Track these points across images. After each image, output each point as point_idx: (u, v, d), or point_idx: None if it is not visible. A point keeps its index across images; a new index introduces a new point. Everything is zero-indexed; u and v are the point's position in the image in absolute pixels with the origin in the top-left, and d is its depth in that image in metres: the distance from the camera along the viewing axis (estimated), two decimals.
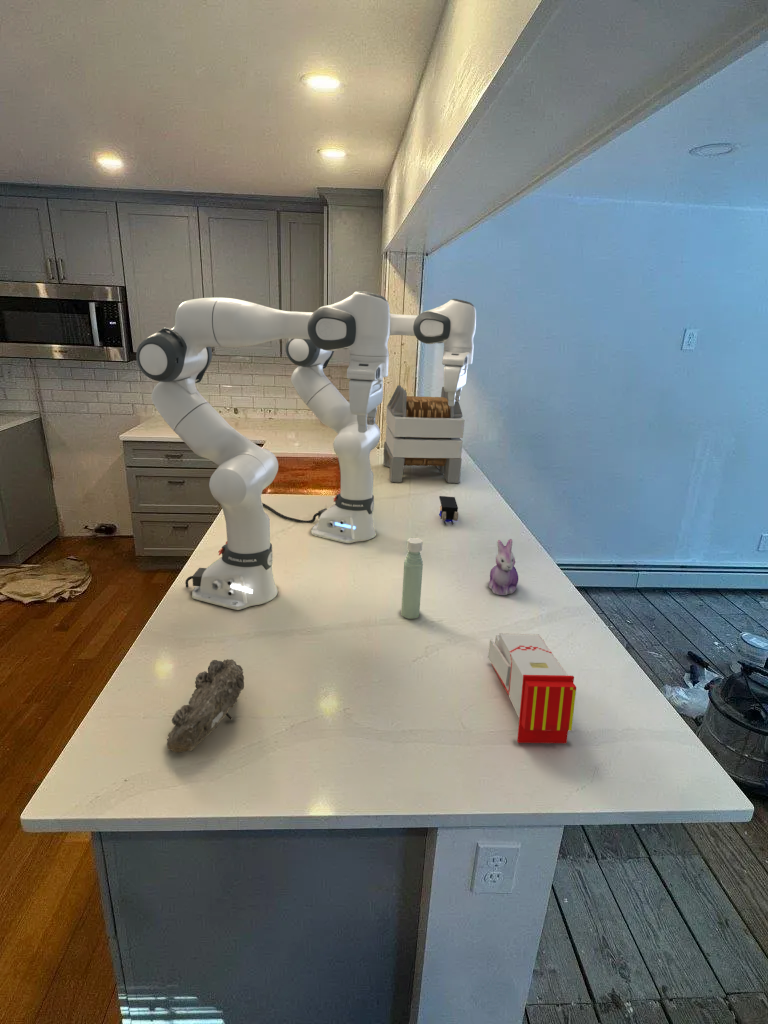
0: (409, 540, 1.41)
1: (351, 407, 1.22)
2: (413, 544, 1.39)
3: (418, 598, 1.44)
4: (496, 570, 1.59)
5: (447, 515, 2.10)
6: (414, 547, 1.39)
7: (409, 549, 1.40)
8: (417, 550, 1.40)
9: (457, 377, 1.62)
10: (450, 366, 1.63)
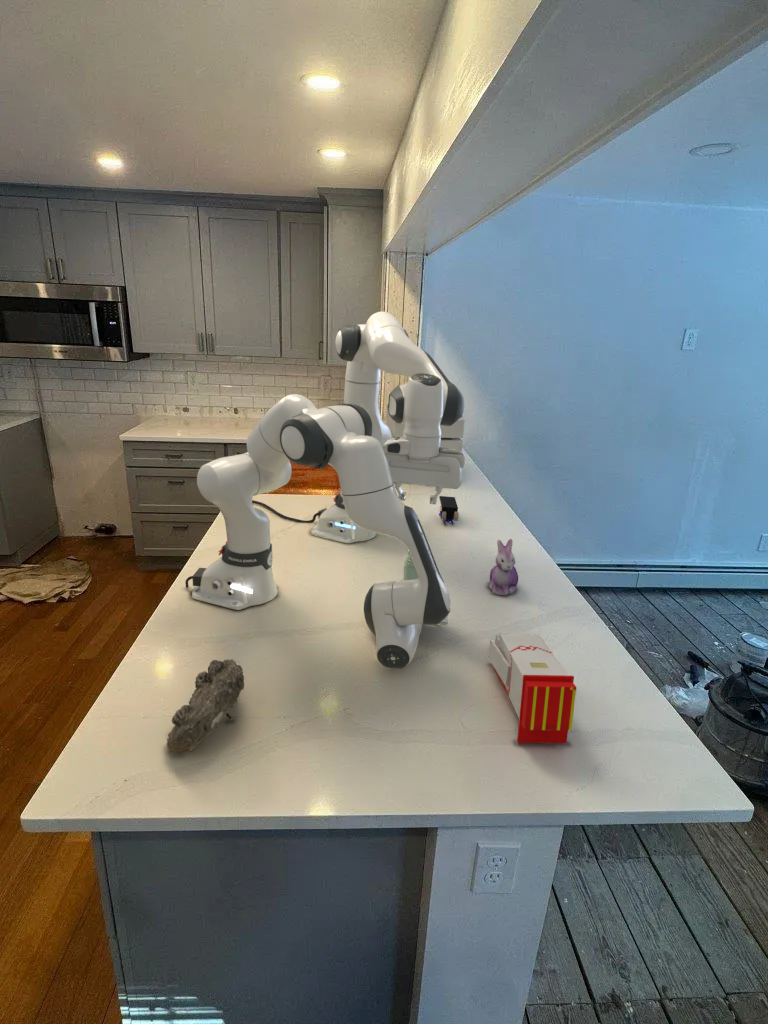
0: None
1: None
2: None
3: None
4: (496, 570, 1.59)
5: (447, 515, 2.10)
6: None
7: None
8: None
9: None
10: None
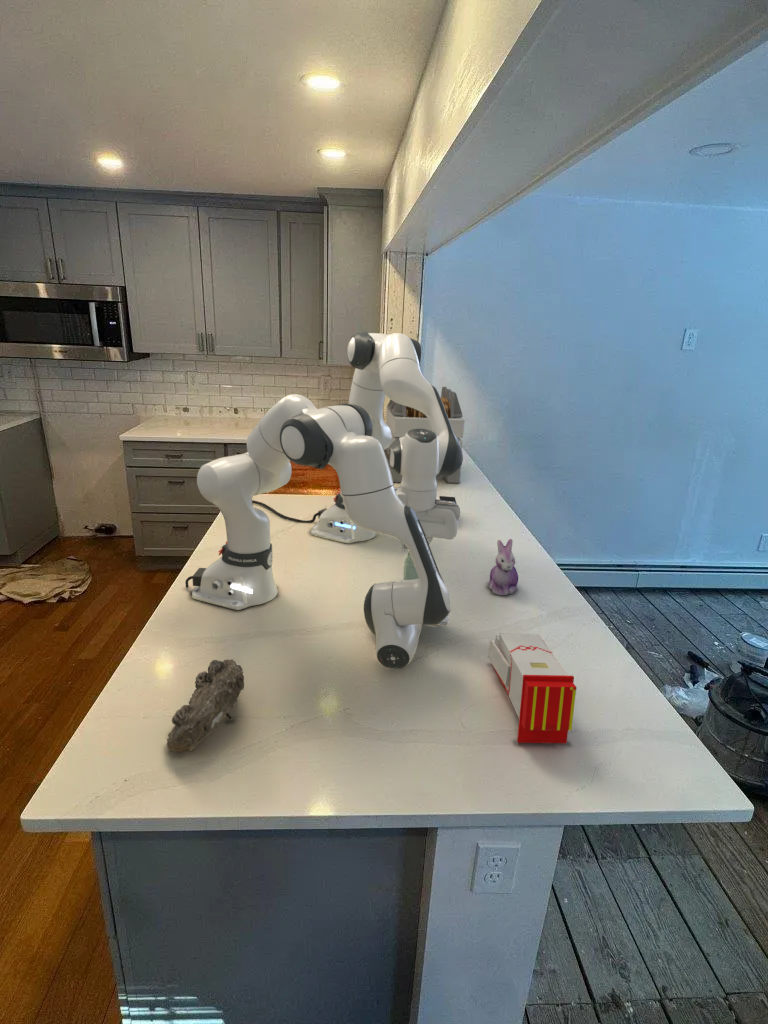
0: None
1: None
2: None
3: None
4: (496, 570, 1.59)
5: None
6: None
7: None
8: None
9: None
10: None
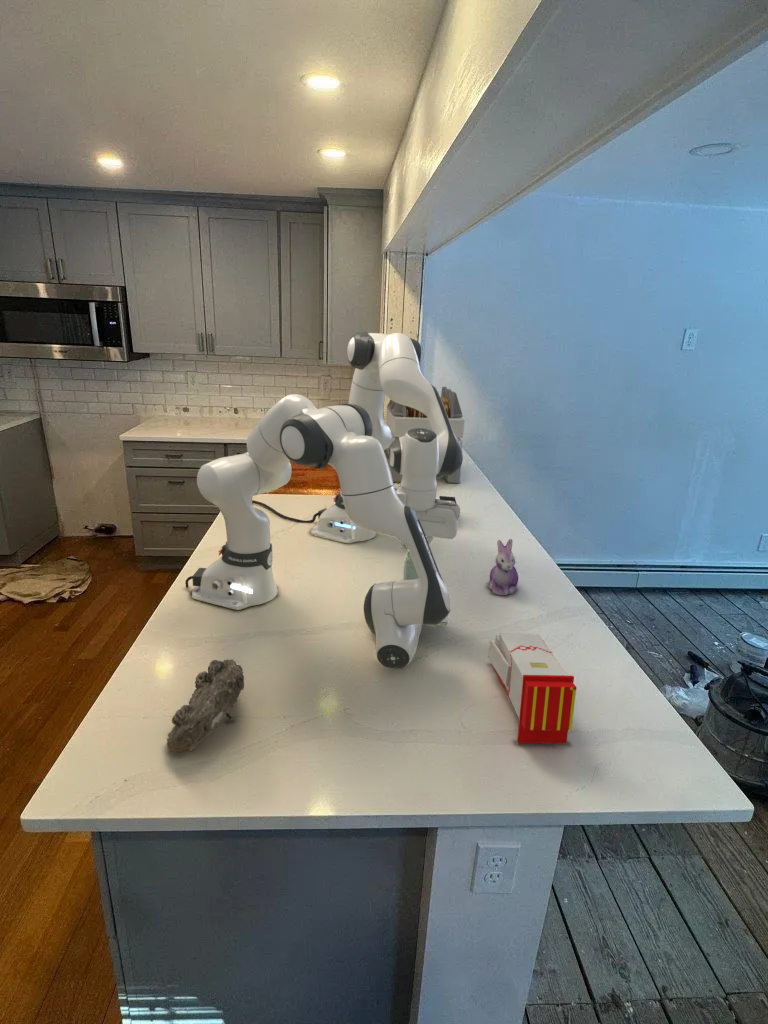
0: None
1: None
2: None
3: None
4: (496, 570, 1.59)
5: None
6: None
7: None
8: None
9: None
10: None
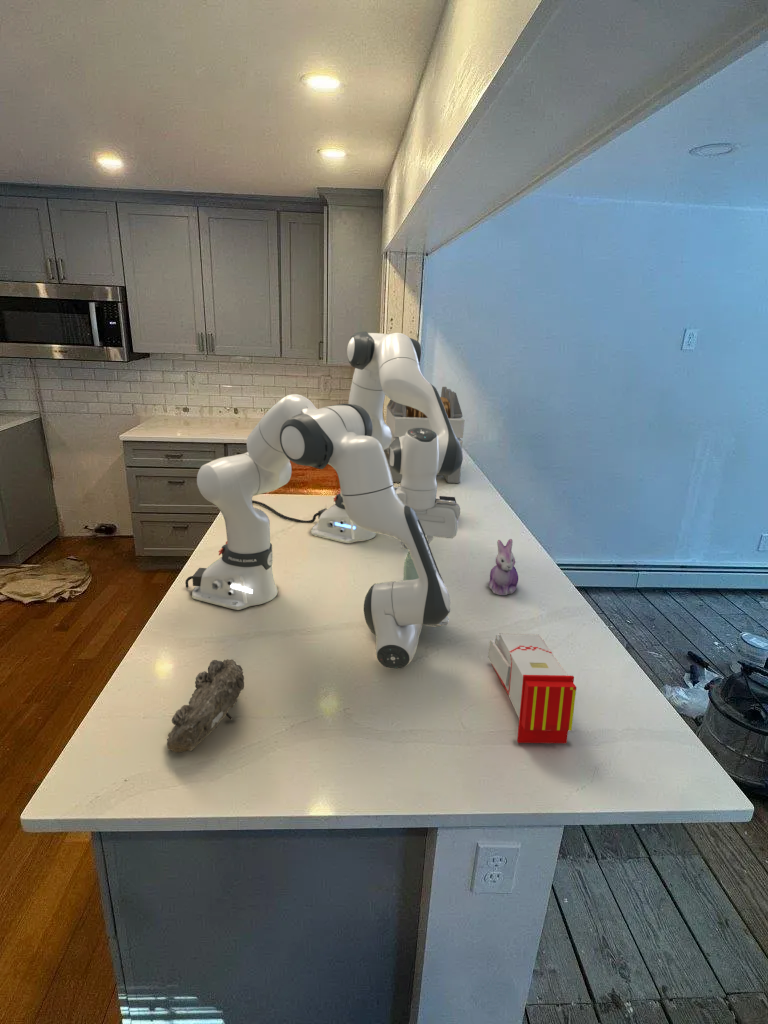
0: None
1: None
2: None
3: None
4: (496, 570, 1.59)
5: None
6: None
7: None
8: None
9: None
10: None
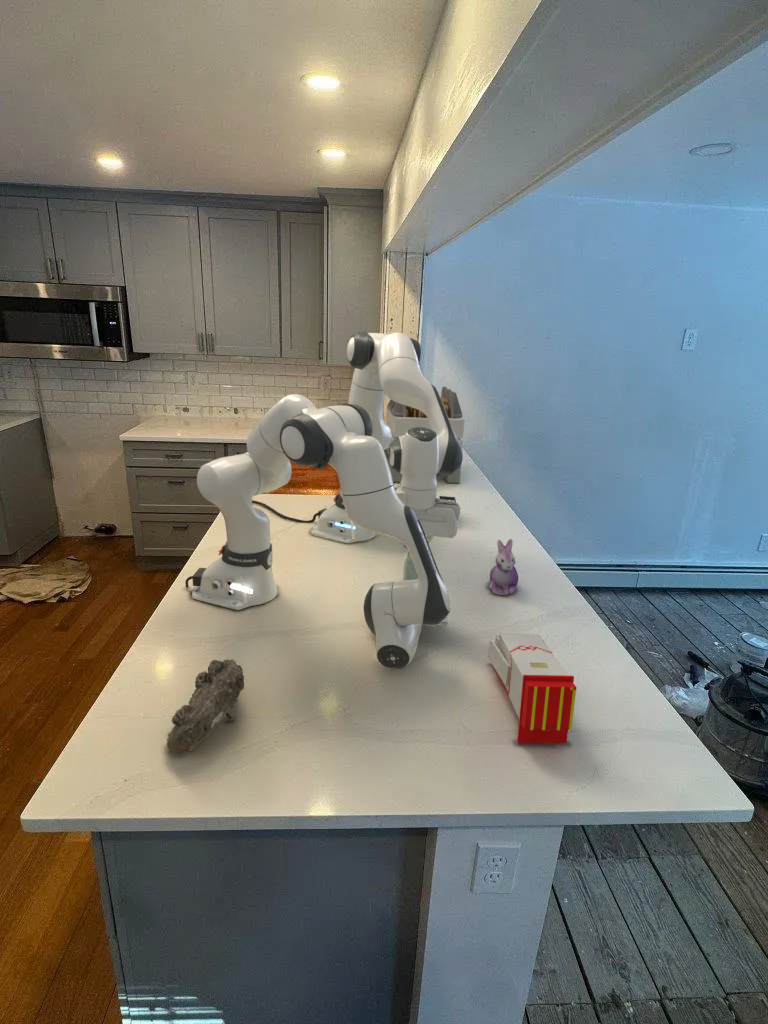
0: None
1: None
2: None
3: None
4: (496, 570, 1.59)
5: None
6: None
7: None
8: None
9: None
10: None
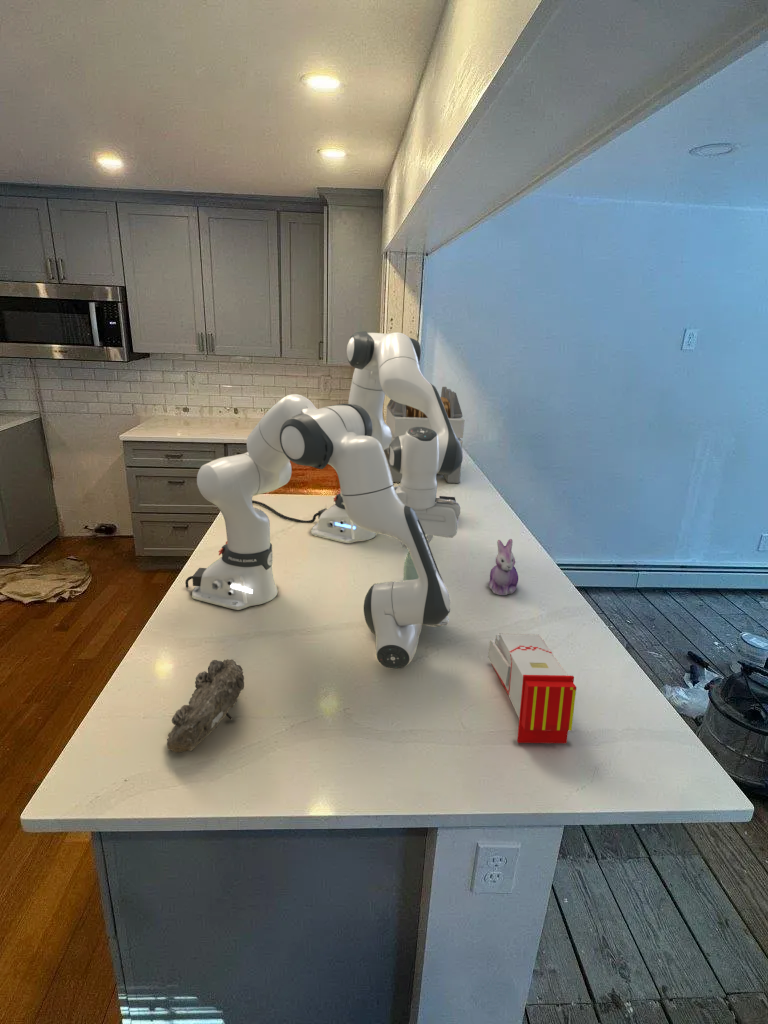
0: None
1: None
2: None
3: None
4: (496, 570, 1.59)
5: None
6: None
7: None
8: None
9: None
10: None
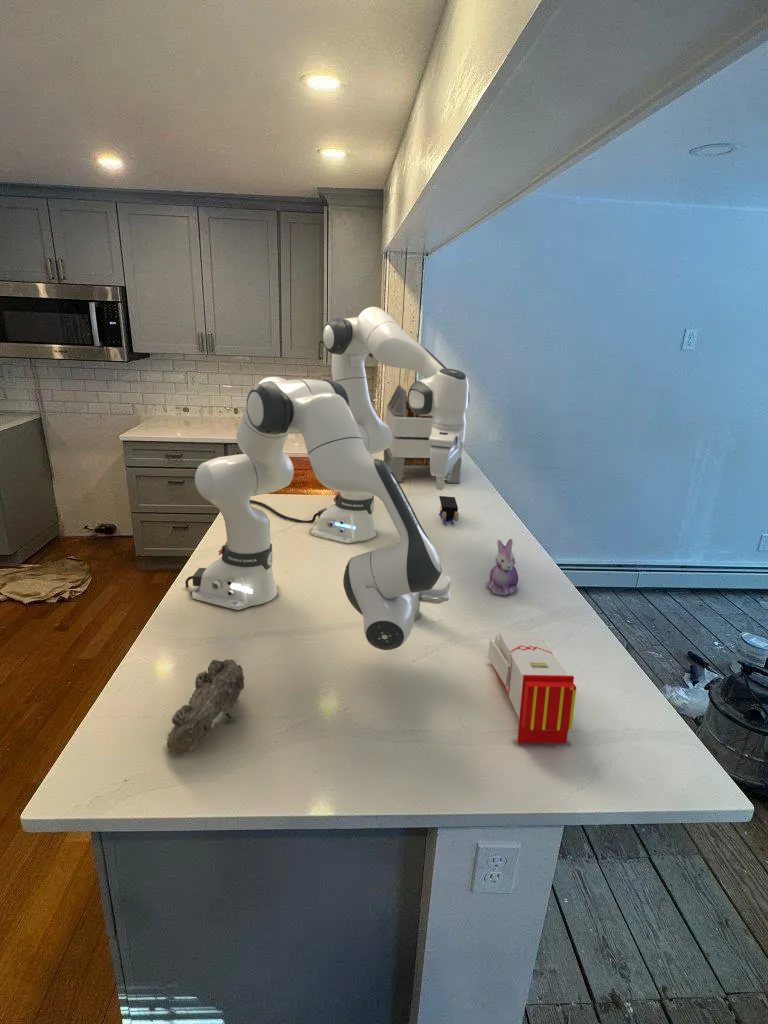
0: None
1: None
2: None
3: None
4: (496, 570, 1.59)
5: (447, 515, 2.10)
6: None
7: None
8: None
9: (445, 460, 1.40)
10: (437, 447, 1.41)
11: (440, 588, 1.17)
